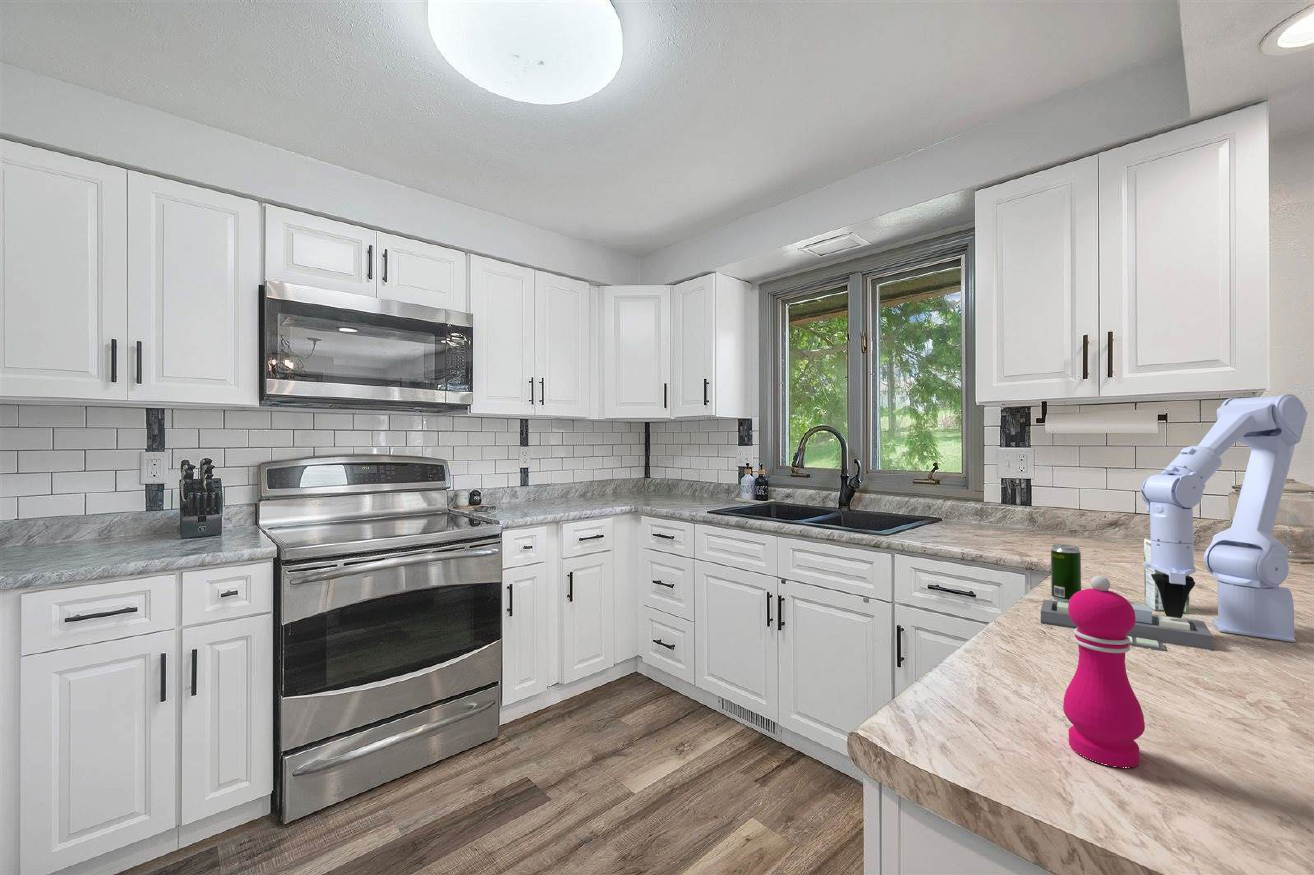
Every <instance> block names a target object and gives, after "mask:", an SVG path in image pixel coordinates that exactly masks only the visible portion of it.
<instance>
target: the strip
mask: <svg viewBox="0 0 1314 875" xmlns="http://www.w3.org/2000/svg"><path fill="white" fill-rule="evenodd" d="M1128 637H1129V639H1130V642H1129V646H1132V647H1136V648H1144V649H1149V648H1150V649H1149V650H1156V651H1161V652H1165V651H1166V650H1165V649H1166V648H1165V645H1164V643H1163V642H1158V641H1156V640H1149V639H1143V638H1137V637H1136V638H1132V637H1130V636H1128Z"/></svg>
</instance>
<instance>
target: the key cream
mask: <svg viewBox="0 0 1314 875" xmlns="http://www.w3.org/2000/svg"><path fill="white" fill-rule="evenodd" d="M1156 615H1157V626H1163V627H1170V628H1177V629H1183V630H1190V624H1189V623H1188V621H1187V619H1188V618H1184V619H1180V618H1172V617H1165V616H1166V615H1162V616H1158V615H1159V614H1156Z"/></svg>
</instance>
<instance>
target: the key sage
mask: <svg viewBox="0 0 1314 875" xmlns="http://www.w3.org/2000/svg"><path fill="white" fill-rule="evenodd" d="M1068 604H1069V603H1068V602H1066V603H1063V602H1061V601H1059V602H1058V603H1057V611H1059V612H1066V613H1068Z"/></svg>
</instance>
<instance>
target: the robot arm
mask: <svg viewBox="0 0 1314 875" xmlns="http://www.w3.org/2000/svg"><path fill="white" fill-rule="evenodd" d="M1307 417H1308V412H1307V409H1306V408H1305V406H1304V403H1303V401H1302V400H1301V399H1300V398H1299V397H1298V396H1296V395H1295V394H1291V393H1285V394H1281V395H1267V396H1254V397H1251V396H1250V397H1240V398H1239V397H1230V398H1227V399H1225V400H1224V401H1223V402H1222V404H1221V406H1220V407H1218V408H1217V409H1216V419H1217V421H1216V422H1215V423H1214V424H1213V426H1212V427H1211V428H1210V429H1209V431H1208V432H1207V433H1206V434H1205V436H1204V437H1203V438H1202V440H1200V443H1199V442H1198V443H1199V444H1198V445H1191V446H1190V445H1189V446H1187V447H1183V448H1182V449H1181V450H1180V452H1179V454H1178V455H1177V456H1176V457H1175V458H1173V460H1172V461H1171V462H1170V463H1169V464H1168V465H1167V466H1166V467H1165V468H1164V469H1163V471H1161V472H1160V474H1159V473H1156V474H1152V475H1151V476H1150V477H1148V478H1146V479H1144V481H1143V484H1142V487H1141V488H1140V490H1139V491H1140V497H1141V498H1142V500H1143V501H1144V503H1145V511H1146V512H1147V514H1149V527H1150V528H1149V529H1150V531H1149V532H1150V533H1149V534H1150V539H1151V562H1144V561H1143V562H1142V567H1143V568H1144V567H1147V568H1152V569H1154V570H1157V571H1159V572H1162V573H1163V575H1161V574H1151V576H1152V578H1153V580H1154V581H1155V583H1156V585H1157V587H1158V590H1159V593H1160V596H1161V601H1162V605H1163V609H1164V611H1163V612H1164V614H1165V616H1169V617H1177V618H1183V614H1184V613H1183V612H1184V608H1185V604H1186V600H1187V597H1188V595H1189V596H1190V593H1191V591H1192V589H1193V588H1194V587H1195V586H1196V582H1195V581H1194V580H1195V579H1194V578H1193V576H1190V575H1192V574H1194V573H1196V572H1197V571H1196V567H1195V555H1194V554H1195V551H1194V549H1195V548H1194V515H1193V514H1194V509H1193V508H1194V507H1196V506H1197V505H1199V504H1200V503H1201V501H1202V499H1203V495H1204V494H1203V493H1204V490H1205V488H1206V483H1207V482H1208V481H1209V480H1210V479H1211V477H1212V476H1214V475H1215V474H1216V473H1217V471H1218V470H1219V469H1220V467H1222V465H1223V462H1222V458H1221V456H1222V455H1223V454H1225V453H1226V451H1228V450H1229V449H1230V448H1231V447H1233V446H1234V445H1235V444H1236V443H1237V442H1239V443H1240V444H1244V445H1246V446H1248V447H1249V448H1250V450H1251V452H1250V455H1249V457H1248V458H1249V460H1248V462H1247V467H1246V469H1245V474H1244V477H1243V480H1242V485H1241V489H1240V493H1239V496H1238V501H1237V505H1236V508H1235V510H1234V514H1233V520H1232V524H1231V526H1230V527H1228V528H1227V529H1224V530H1222V531H1219V532H1218V533H1216V534H1214V535H1213V536H1212V541H1211V543H1210V545H1209V546H1208V547H1207V548H1206V550H1205V551H1204V553H1203V564H1204V566H1205V569H1206V571H1207V572H1208V573H1210V574H1211V575H1212V580H1216V581H1217V584H1216V585H1217V586H1216V587H1217V616H1218V617H1217V619H1216V618H1212V619H1211V620H1212V623H1213V624H1214V626H1215V627H1216V628H1217V630H1218V631H1219V632H1222V633H1227V634H1235V635H1236V634H1237V635H1242V636H1249V637H1254V638H1255V637H1257V638H1261V639H1270V640H1277V641H1283V642H1292V643H1296V642H1297V641H1296V639H1295V607H1294V606H1295V605H1294V604H1295V603H1294V599H1293V598H1294V597H1293V594H1292V591H1291V589H1289V588H1288V587H1282V586H1280V585H1282V583H1284V582H1285V581H1286V579H1287V578H1288V576H1289V572H1290V568H1289V567H1290V566H1289V562H1288V559H1289V558H1288V556H1289V551H1290V549H1288V548H1287V546H1286V545H1284V544H1283V543H1282V542H1281V541H1279V540H1278V539H1277V538H1276V537H1274V536H1273V531H1274V528H1275V524H1276V520H1277V516H1278V512H1279V509H1280V505H1281V501H1282V497H1283V492H1284V489H1285V485H1286V480H1287V478H1288V473H1289V470H1290V466H1291V462H1292V459H1293V454H1294V451H1295V446H1296V444H1299V443H1300V442H1301V440H1302V438H1303V437H1302V436H1303V433H1304V429H1305V425H1306V420H1307ZM1188 575H1189V576H1188Z"/></svg>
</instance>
